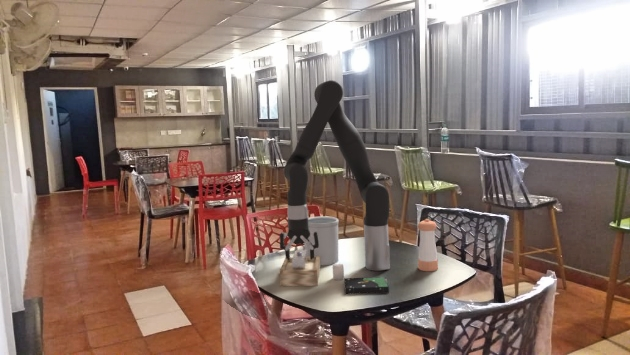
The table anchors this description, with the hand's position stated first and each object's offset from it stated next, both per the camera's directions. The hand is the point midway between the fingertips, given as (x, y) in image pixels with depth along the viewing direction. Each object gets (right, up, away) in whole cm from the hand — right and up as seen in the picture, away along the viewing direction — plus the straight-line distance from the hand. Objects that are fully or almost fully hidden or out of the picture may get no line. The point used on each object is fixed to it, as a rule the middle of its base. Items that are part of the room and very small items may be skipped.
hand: (300, 259), depth 179 cm
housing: (0, -3, 0) cm, 3 cm away
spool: (+14, -7, -2) cm, 16 cm away
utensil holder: (+9, -5, +21) cm, 23 cm away
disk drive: (+23, -8, -13) cm, 28 cm away
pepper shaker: (+49, -4, +4) cm, 49 cm away
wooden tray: (0, -7, +1) cm, 7 cm away
